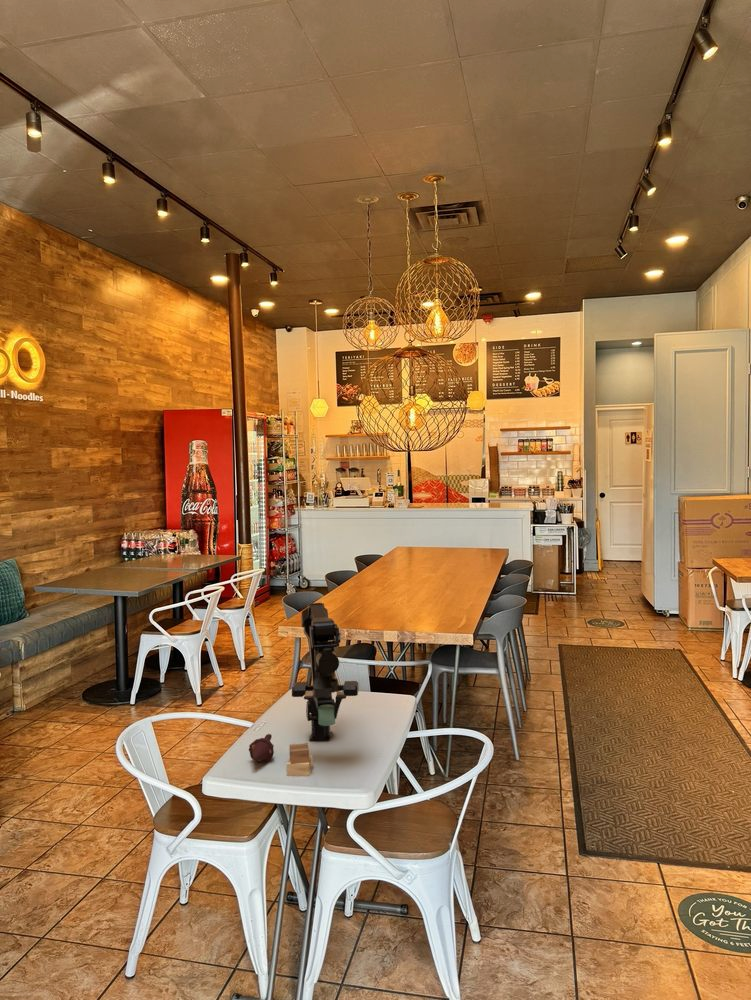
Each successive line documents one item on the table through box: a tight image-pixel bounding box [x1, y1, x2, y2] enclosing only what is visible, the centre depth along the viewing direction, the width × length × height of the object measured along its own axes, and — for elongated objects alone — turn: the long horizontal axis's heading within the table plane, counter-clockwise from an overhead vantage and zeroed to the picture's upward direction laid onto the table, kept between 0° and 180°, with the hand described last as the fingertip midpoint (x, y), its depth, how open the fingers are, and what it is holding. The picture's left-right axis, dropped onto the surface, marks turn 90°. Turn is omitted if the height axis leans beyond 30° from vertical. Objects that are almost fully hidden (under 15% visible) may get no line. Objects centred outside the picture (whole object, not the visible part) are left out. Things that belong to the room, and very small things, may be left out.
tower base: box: [286, 754, 313, 777], centre depth 194 cm, size 6×6×4 cm
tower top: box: [289, 742, 310, 764], centre depth 194 cm, size 5×5×4 cm
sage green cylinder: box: [318, 705, 336, 726], centre depth 201 cm, size 5×5×4 cm
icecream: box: [248, 733, 275, 764], centre depth 201 cm, size 7×7×15 cm
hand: (326, 718), depth 201 cm, fingers closed on sage green cylinder, 5 cm apart
